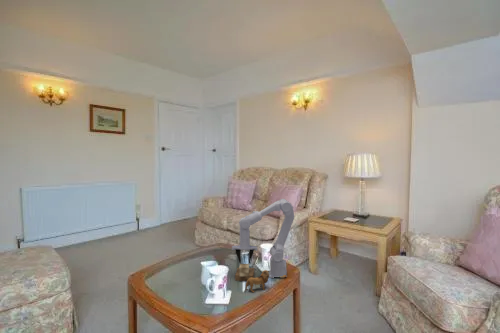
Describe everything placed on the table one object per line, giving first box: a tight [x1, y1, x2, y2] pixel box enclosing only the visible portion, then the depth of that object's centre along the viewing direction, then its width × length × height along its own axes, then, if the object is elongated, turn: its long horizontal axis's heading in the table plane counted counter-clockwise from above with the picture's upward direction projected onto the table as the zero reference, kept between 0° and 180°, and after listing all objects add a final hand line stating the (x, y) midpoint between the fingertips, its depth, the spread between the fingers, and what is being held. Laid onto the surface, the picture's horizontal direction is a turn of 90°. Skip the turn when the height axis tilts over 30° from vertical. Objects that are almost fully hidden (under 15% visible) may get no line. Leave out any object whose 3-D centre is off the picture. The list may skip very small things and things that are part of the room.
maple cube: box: [238, 263, 250, 276], centre depth 146 cm, size 5×5×5 cm
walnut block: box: [234, 267, 255, 282], centre depth 150 cm, size 10×10×4 cm
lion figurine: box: [243, 269, 270, 293], centre depth 135 cm, size 15×5×9 cm, turn 117°
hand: (244, 262), depth 150 cm, fingers open, 5 cm apart
